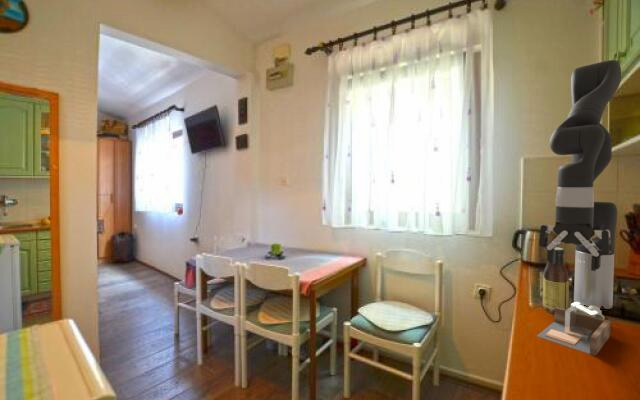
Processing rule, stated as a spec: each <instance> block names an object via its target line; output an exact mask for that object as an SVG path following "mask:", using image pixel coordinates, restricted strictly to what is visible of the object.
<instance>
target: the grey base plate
mask: <svg viewBox="0 0 640 400" xmlns="http://www.w3.org/2000/svg"><path fill="white" fill-rule="evenodd" d="M536 337H538V338H540V339H544V340H547V341H550V342H553V343H556V344H559V345H561V346H565V347H568V348H571V349H573V350H576V351H580V352H583V353H585V354H589V355H591V354H590V338H589V339H588V340H584V339H580V338H578V337H575V336H572V335H569V334H565V325H564V324H560V323H557V322H554V321H553V322H552V323H550V324H549V325H548V326H547V327H546V328H544V329H543V330H542V331H541V332H540V333H538V334H537V335H536Z"/></svg>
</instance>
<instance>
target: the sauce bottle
mask: <svg viewBox="0 0 640 400" xmlns="http://www.w3.org/2000/svg"><path fill="white" fill-rule="evenodd" d="M555 250H556V262H555V264H550V262H549V261H548V260H547V259H546V260H547V262H546V265H545V267H544V269H543V272H542V306H543V308H542V309H543V310H544V311H546V312H548V313H550V314H553V315H554V308H555V307H558V308H562V309H566V310H567V309H568V308H570V305H569V304H570V303H569V299H570V297H569V295H570V294H569V293H570V292H569V291H570V288H569V285H570V284H569V283H570V282H569V271H568V269H567V267H566V266H565V265H564V263H565V262H564V254H565V248H562V247H558V246H556V247H555Z"/></svg>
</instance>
